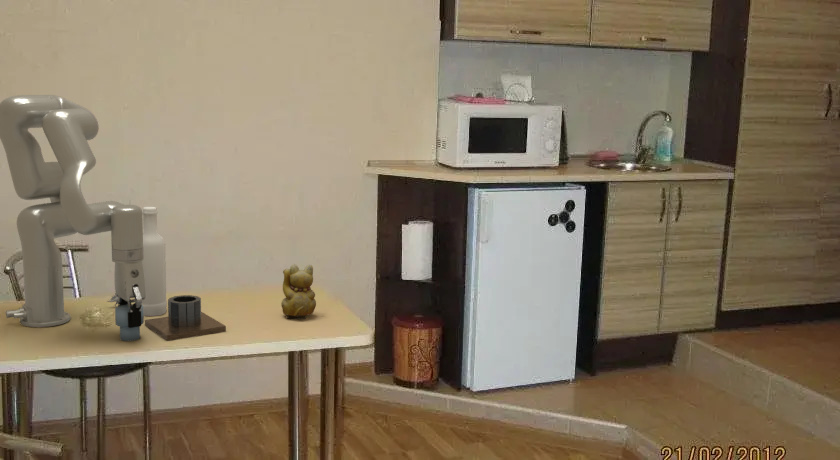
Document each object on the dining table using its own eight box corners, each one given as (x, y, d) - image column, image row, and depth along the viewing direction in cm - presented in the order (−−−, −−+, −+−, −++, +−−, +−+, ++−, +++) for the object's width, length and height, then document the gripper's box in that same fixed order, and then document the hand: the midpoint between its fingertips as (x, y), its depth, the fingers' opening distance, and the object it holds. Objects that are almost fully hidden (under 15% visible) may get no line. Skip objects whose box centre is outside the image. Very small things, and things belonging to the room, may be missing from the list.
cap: (121, 343, 217) (120, 312, 216) (112, 336, 222) (111, 306, 221) (148, 339, 221) (147, 309, 220) (138, 332, 226) (137, 303, 225)
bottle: (158, 317, 240) (155, 210, 235) (132, 315, 242) (129, 208, 237) (171, 310, 248) (169, 206, 243) (146, 307, 250) (143, 204, 244)
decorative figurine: (314, 312, 250) (314, 261, 247) (317, 320, 242) (318, 268, 240) (280, 314, 248) (280, 262, 245) (283, 322, 240) (283, 269, 237)
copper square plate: (166, 340, 220) (166, 310, 219) (144, 325, 233) (144, 296, 231) (225, 331, 230) (225, 302, 228) (201, 316, 242) (201, 289, 241)
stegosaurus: (105, 307, 249) (105, 291, 248) (131, 305, 252) (130, 289, 251) (106, 309, 247) (106, 293, 246) (132, 307, 250) (132, 291, 249)
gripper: (154, 259, 213) (156, 329, 216) (130, 247, 227) (132, 313, 230) (124, 262, 209) (126, 334, 212) (101, 249, 222) (104, 317, 226)
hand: (129, 322), depth 221 cm, fingers closed on cap, 6 cm apart
